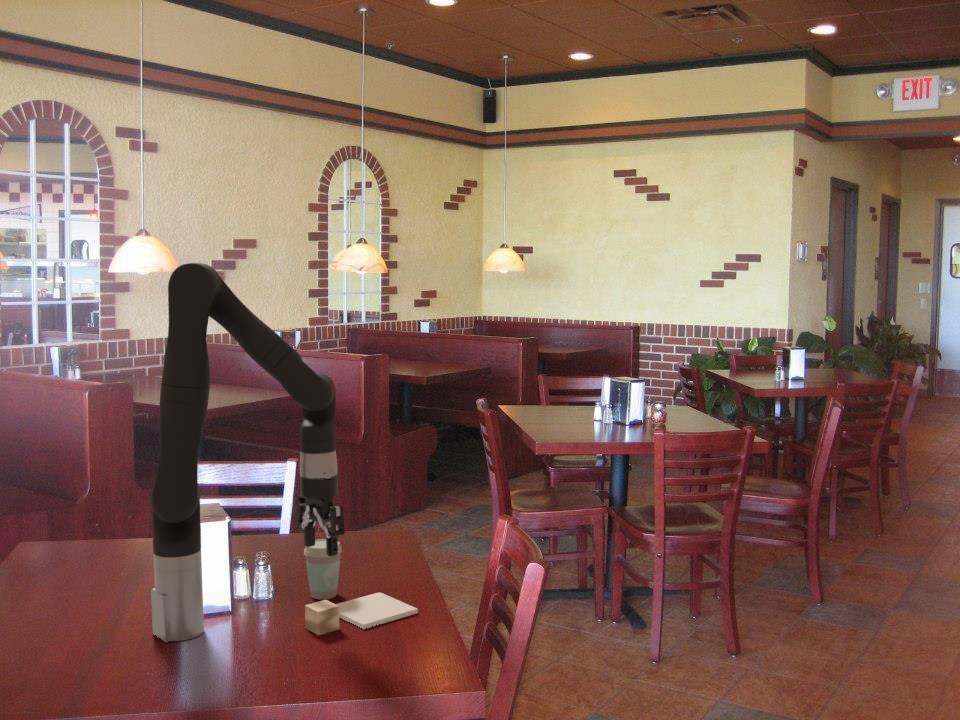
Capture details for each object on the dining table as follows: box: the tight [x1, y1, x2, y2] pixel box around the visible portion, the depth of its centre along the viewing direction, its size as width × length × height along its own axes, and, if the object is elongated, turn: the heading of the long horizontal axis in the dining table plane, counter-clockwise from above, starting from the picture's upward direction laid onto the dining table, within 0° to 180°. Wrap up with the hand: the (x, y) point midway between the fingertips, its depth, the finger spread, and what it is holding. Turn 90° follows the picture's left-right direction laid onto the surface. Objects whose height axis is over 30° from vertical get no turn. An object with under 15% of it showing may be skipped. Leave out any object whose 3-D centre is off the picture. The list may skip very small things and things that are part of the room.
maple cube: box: [304, 599, 340, 636], centre depth 202 cm, size 5×5×5 cm
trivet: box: [336, 592, 418, 630], centre depth 212 cm, size 14×14×1 cm
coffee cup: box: [303, 538, 343, 601], centre depth 222 cm, size 9×9×12 cm
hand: (320, 550), depth 201 cm, fingers open, 8 cm apart
